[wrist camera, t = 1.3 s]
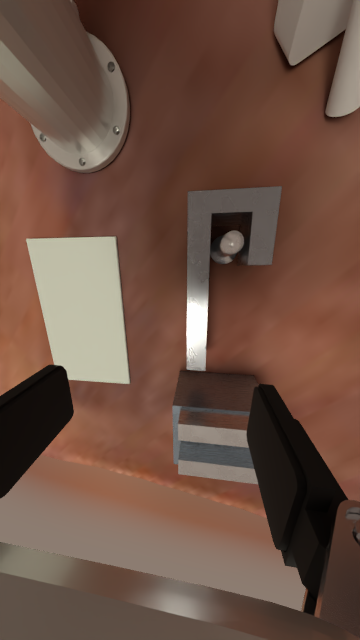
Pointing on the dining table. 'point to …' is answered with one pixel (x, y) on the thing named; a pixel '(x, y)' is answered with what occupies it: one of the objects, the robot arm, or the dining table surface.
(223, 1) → the dining table surface
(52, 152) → the robot arm
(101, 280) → the mat
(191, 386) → the grey metal pieces
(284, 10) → the wall hook
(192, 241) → the crook
